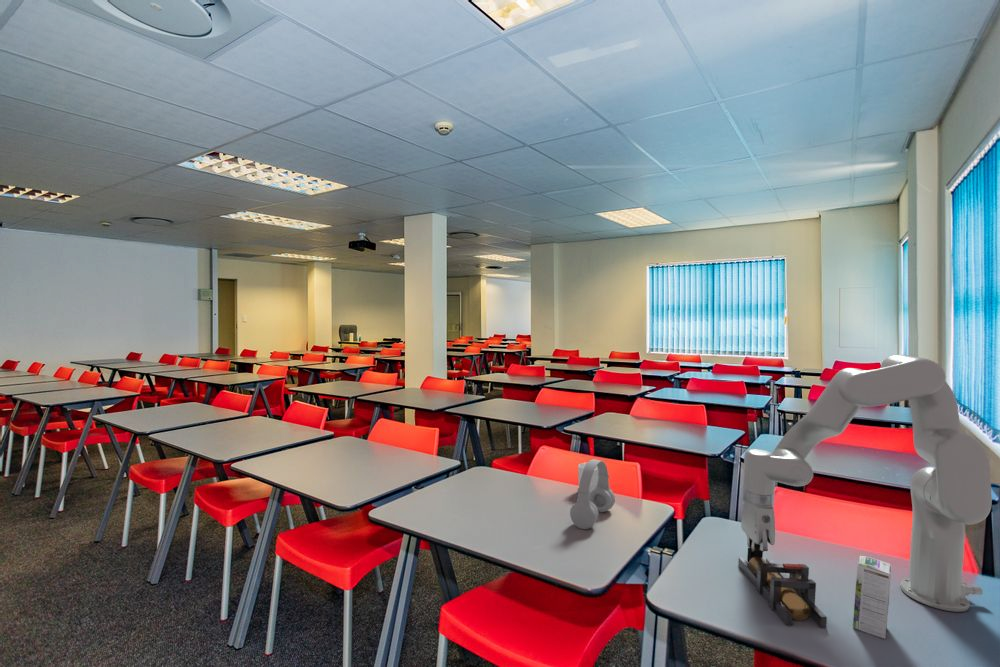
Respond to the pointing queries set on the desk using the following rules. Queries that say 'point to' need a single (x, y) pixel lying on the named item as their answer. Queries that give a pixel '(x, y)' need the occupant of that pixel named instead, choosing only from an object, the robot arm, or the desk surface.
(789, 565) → the collar rig
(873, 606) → the syrup box
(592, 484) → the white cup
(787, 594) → the tan cylindrical rod
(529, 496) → the desk surface
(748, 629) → the desk surface
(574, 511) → the headphones
